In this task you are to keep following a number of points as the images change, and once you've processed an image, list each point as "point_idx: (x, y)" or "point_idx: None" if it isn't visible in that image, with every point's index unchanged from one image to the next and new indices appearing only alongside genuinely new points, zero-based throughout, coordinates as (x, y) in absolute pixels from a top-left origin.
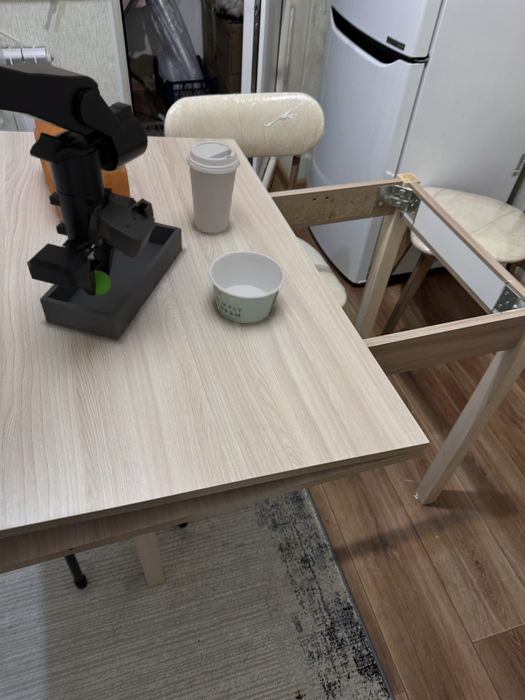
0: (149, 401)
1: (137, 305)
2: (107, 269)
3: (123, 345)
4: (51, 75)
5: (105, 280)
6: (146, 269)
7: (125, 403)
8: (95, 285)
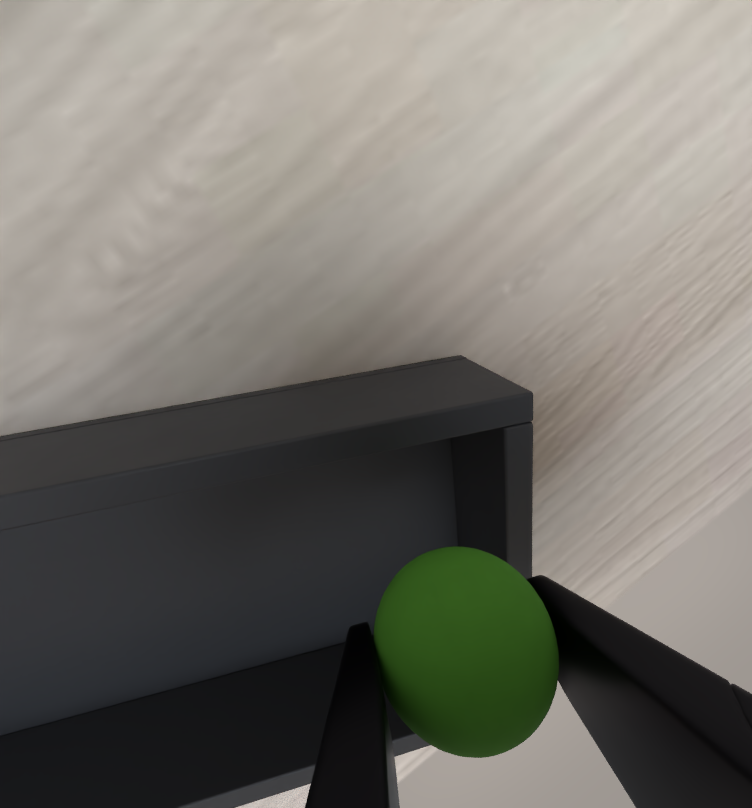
0: (719, 18)
1: (254, 403)
2: (382, 711)
3: (473, 319)
4: None
5: (495, 626)
6: None
7: (740, 122)
8: (591, 635)
